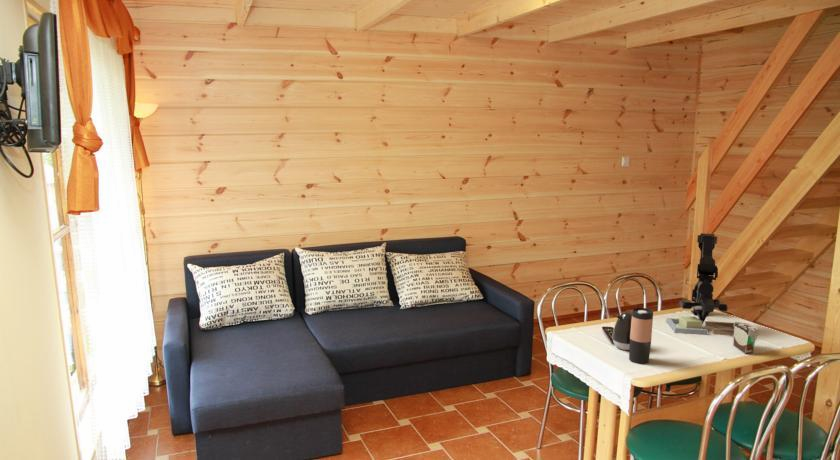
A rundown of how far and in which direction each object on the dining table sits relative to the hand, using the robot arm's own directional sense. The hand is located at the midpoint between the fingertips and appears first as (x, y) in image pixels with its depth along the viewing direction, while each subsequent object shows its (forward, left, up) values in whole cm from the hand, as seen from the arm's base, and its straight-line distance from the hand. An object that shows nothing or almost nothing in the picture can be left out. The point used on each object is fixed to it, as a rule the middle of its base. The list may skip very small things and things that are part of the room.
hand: (701, 323), depth 263 cm
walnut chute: (0, +11, -2) cm, 12 cm away
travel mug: (+44, -36, -3) cm, 57 cm away
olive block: (+1, -5, -3) cm, 6 cm away
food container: (+24, +10, -3) cm, 26 cm away
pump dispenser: (+31, -39, -3) cm, 50 cm away
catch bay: (0, -6, -2) cm, 6 cm away
